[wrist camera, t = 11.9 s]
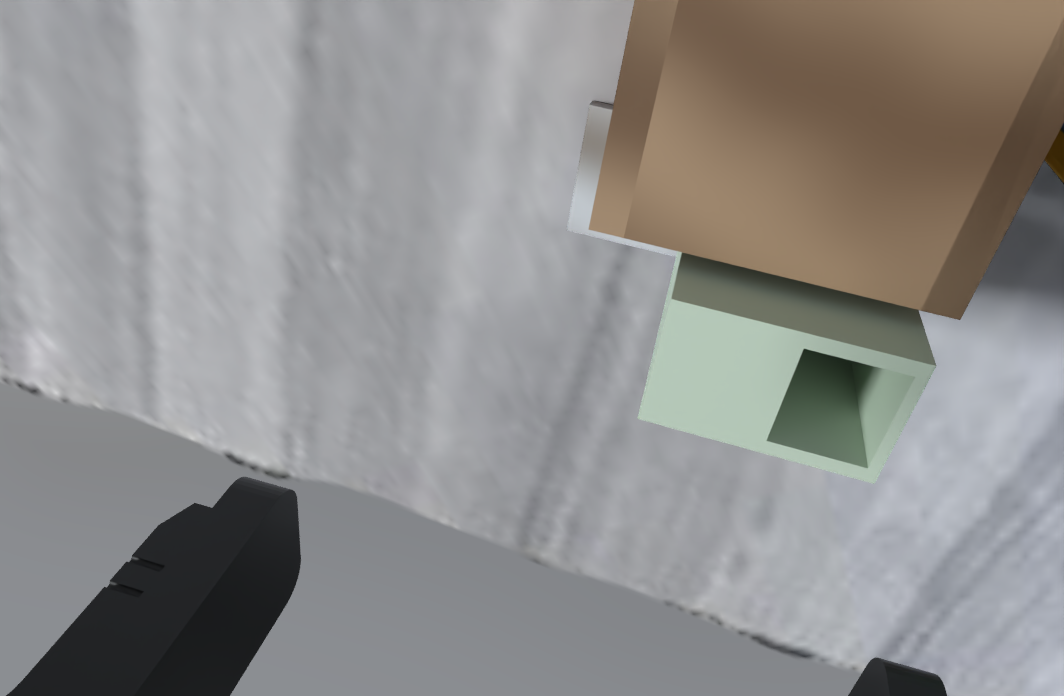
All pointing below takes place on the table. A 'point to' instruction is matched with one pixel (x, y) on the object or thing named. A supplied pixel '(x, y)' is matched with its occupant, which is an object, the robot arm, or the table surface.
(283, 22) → the table surface
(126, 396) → the table surface
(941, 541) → the table surface
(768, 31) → the small wooden cupboard
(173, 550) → the robot arm
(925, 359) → the hollow square pipe
